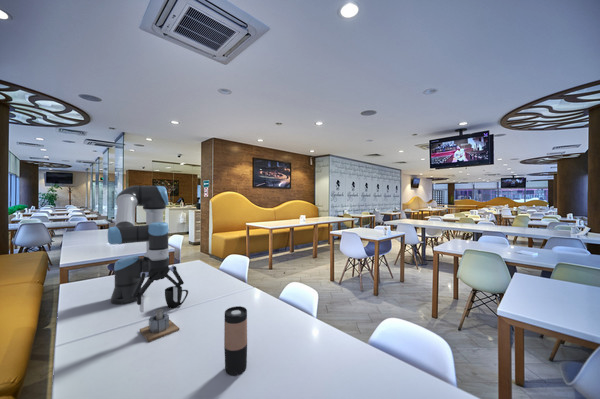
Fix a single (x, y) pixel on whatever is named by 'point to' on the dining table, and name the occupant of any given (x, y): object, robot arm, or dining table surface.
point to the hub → (158, 324)
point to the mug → (169, 297)
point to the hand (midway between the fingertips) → (159, 306)
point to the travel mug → (235, 340)
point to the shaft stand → (154, 336)
